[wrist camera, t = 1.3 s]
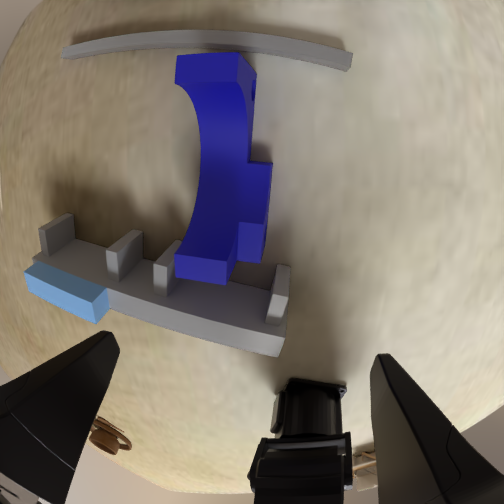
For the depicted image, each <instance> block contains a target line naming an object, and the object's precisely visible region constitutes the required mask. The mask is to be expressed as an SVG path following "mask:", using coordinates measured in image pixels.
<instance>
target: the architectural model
mask: <svg viewBox="0 0 504 504" xmlns="http://www.w3.org/2000/svg"><path fill="white" fill-rule="evenodd" d="M352 464H353V478H355V477H354V474H355V475H357V491H362V490H366V489H370V488H374V487H378V480H377V467H376V455H375V452H373V453H370V454H367V453H365V452H363V453H362V456H359V457H355V456H354V455H352Z"/></svg>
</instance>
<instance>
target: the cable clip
mask: <svg viewBox="0 0 504 504" xmlns="http://www.w3.org/2000/svg"><path fill="white" fill-rule="evenodd" d="M256 78H257V74H256V72H255V71H254V70H253V69H252V67H251V66H250V65H249V64H248V63H247V61H246V60H245V59H244V58H243V57H242V55H241V54H240V53H239V52H223V53H201V54H188V55H178V56H177V61H176V72H175V84H177V85H179V86H181V87H182V88H183V89H184V90H185V91H186V92H187V93H188V95H189V97H190V98H191V100H192V102H193V105H194V108H195V111H196V114H197V119H198V124H199V131H200V142H201V165H200V177H199V186H198V192H197V198H196V203H195V207H194V211H193V215H192V218H191V222H190V225H189V227H188V230H187V232H186V235H185V237H184V239H183V241H182V243H181V245H180V246H179V248H178V249H177V251H176V252H175V253H174V262H175V276H176V277H178V278H183V279H189V280H195V281H201V282H208V283H214V284H220V285H226V284H227V282H228V280H229V277H230V275H231V273H232V271H233V268H234V266H235V264H236V261H244V262H251V263H259V264H260V262H261V258H262V255H263V251H264V247H265V241H266V230H267V220H268V210H269V199H270V188H271V178H272V167H273V163H268V162H258V161H250V157H251V144H252V130H253V117H254V104H255V91H256Z"/></svg>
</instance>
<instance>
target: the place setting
mask: <svg viewBox="0 0 504 504" xmlns="http://www.w3.org/2000/svg"><path fill="white" fill-rule="evenodd" d="M97 419H99V420H100V421H102V422H103V423H102V422H100V421H97V420H94V422H93V424H96V425H98V426H100V427H102V428H104V429H95V428H94V427H93V426H92V427H91V429H90V431H91V432H92V434H91V435H90V437H89V440H90V441H91V442H92V443H93V444H94V445H95V446H97V447H98V448H100V449H101V450H103V451H105V452H107V453H109V454H112V455H116V454H117V452H118V449H119V448H120V449H123V450H128V451H129V450H131V448H132V445H131V442H130V441H129V440H128V439H127V438H126V437H125V436H123V435H122V434H121V433H119V432H118V431H116V430H115V429H113V428H111V427H110V426H112V427H114V428H116V427H115V426H113V425H112V424H111V423H109V422H108V421H106V420H105V419H103V418H100V417H97ZM104 423H105V424H104ZM106 424H108V425H110V426H108V425H106ZM116 429H118V428H116ZM118 430H120V429H118ZM120 431H122V430H120ZM122 432H124V431H122ZM115 435H116V436H117V437H119V438H120V439H121V440H123V441H124V442H125V443H126V444H127V445H123V444H120V443H119V442H118V440H117V437H116V436H115Z"/></svg>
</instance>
